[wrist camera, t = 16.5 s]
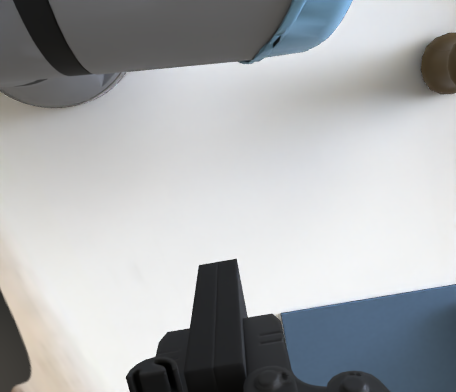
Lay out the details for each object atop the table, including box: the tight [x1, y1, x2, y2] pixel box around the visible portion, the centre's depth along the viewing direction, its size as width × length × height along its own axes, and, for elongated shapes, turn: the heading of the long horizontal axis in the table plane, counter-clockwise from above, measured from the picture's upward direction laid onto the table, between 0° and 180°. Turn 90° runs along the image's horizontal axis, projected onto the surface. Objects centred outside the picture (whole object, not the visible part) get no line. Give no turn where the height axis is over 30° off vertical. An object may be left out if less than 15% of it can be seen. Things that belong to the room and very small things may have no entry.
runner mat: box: [281, 284, 456, 392], centre depth 46 cm, size 34×16×1 cm, turn 100°
